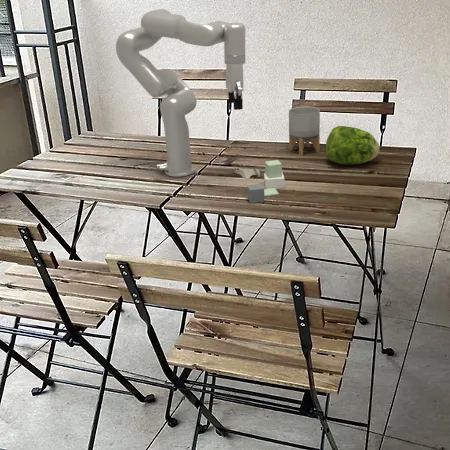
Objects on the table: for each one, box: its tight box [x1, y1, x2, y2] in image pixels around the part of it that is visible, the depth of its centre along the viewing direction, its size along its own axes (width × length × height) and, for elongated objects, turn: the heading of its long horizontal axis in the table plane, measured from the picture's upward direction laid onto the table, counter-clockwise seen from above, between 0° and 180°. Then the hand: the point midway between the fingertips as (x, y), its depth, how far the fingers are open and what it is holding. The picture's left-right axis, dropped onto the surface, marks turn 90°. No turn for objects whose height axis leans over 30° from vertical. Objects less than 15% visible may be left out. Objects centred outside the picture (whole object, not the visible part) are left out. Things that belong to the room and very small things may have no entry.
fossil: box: [232, 166, 261, 180], centre depth 248 cm, size 7×11×3 cm, turn 35°
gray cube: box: [246, 183, 266, 204], centre depth 223 cm, size 5×5×5 cm
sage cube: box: [264, 159, 283, 178], centre depth 234 cm, size 5×5×5 cm
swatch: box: [264, 188, 280, 198], centre depth 229 cm, size 6×6×1 cm
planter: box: [288, 106, 321, 156], centre depth 267 cm, size 13×13×18 cm
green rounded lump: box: [325, 125, 381, 166], centre depth 251 cm, size 16×21×15 cm
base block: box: [263, 171, 286, 189], centre depth 235 cm, size 7×7×4 cm
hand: (235, 105), depth 233 cm, fingers open, 9 cm apart
